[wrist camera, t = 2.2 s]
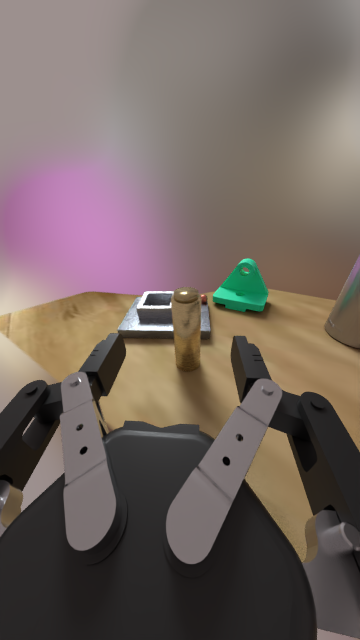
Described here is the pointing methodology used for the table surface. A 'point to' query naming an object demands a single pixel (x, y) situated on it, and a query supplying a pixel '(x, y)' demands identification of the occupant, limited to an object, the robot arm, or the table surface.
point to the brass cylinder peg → (186, 327)
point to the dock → (157, 317)
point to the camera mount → (243, 289)
